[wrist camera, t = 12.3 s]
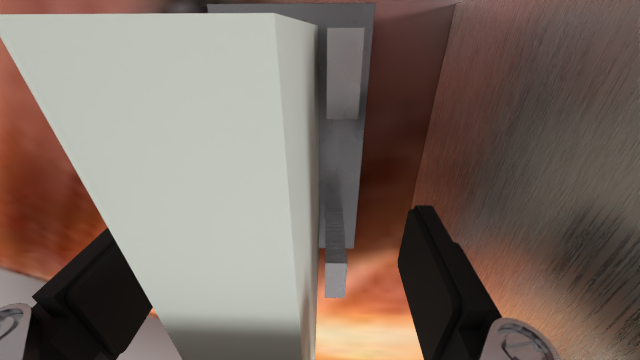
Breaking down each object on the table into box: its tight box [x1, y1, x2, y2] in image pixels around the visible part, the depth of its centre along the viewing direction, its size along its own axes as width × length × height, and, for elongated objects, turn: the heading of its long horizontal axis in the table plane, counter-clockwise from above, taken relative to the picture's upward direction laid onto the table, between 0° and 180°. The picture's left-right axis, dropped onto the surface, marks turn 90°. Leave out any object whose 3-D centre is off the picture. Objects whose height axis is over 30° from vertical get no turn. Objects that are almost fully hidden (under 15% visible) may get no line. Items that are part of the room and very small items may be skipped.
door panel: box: [0, 13, 319, 360], centre depth 11 cm, size 14×2×12 cm, turn 0°
